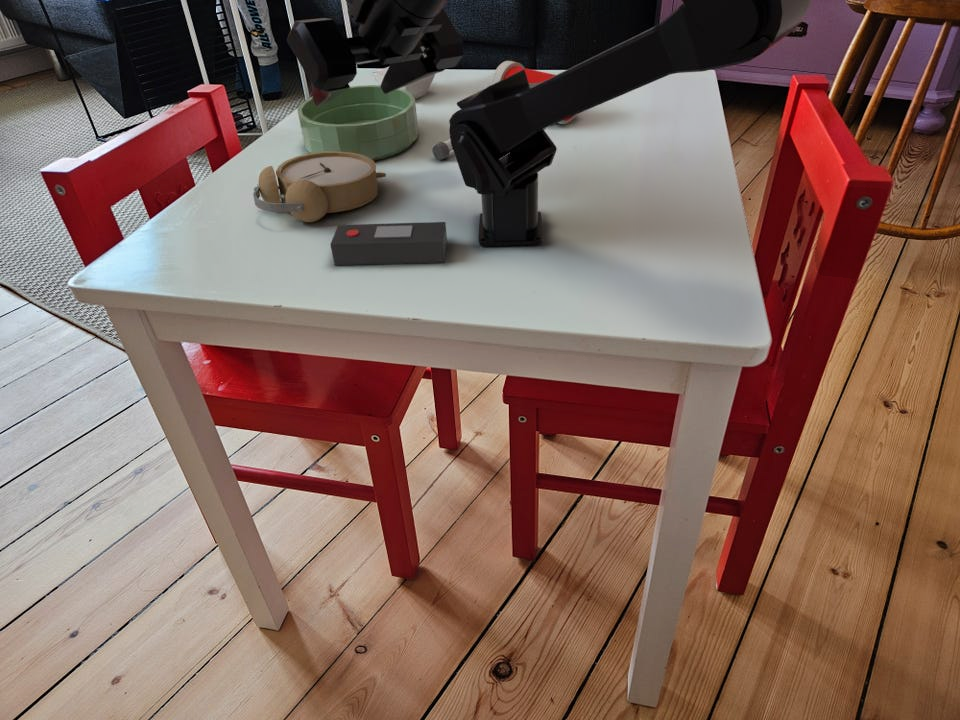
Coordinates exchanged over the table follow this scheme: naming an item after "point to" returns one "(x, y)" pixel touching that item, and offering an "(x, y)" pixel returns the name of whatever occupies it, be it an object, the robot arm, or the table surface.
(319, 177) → the alarm clock
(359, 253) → the remote
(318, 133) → the bowl
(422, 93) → the figurine
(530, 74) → the toy hammer
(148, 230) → the table surface
